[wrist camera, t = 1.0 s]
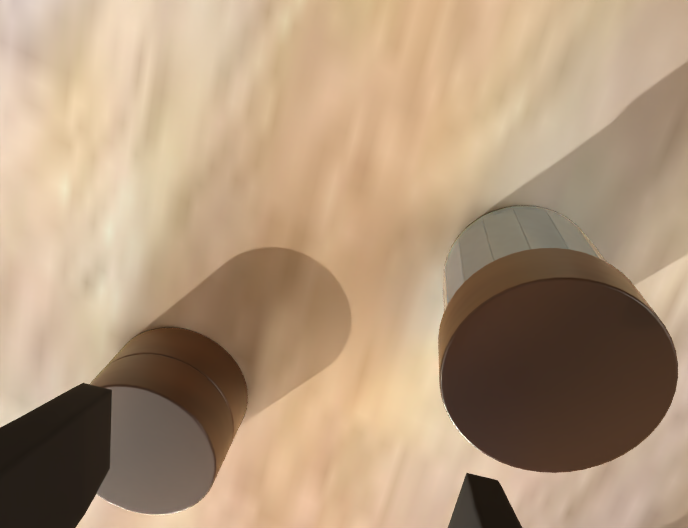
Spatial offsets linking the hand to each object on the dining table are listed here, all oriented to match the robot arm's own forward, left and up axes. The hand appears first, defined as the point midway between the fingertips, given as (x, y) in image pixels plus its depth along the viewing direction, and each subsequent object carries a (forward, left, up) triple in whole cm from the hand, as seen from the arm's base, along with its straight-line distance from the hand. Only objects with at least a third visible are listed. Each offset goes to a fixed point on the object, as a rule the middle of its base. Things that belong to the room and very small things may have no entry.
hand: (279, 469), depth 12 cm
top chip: (-4, -4, -6) cm, 8 cm away
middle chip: (+1, +9, -8) cm, 12 cm away
